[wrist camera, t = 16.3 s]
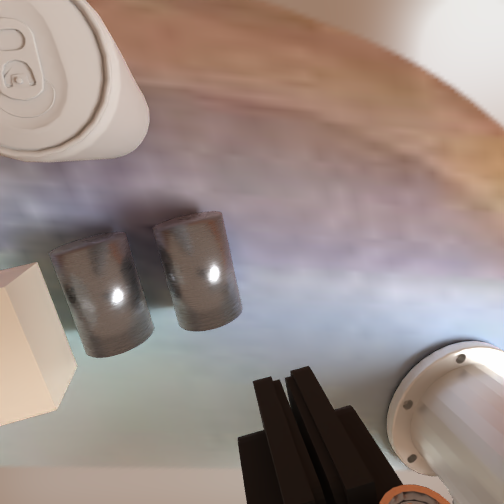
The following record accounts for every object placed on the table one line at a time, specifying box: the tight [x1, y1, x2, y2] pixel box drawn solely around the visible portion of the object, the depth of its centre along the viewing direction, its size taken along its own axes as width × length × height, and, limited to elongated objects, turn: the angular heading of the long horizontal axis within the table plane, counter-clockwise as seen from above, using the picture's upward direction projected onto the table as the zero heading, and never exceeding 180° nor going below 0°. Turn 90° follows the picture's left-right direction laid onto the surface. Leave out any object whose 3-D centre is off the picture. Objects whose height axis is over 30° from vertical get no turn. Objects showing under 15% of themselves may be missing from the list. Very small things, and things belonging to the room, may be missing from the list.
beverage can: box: [0, 0, 150, 162], centre depth 14 cm, size 5×5×12 cm
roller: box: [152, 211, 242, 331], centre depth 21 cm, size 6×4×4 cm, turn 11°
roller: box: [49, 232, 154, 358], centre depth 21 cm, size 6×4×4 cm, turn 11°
